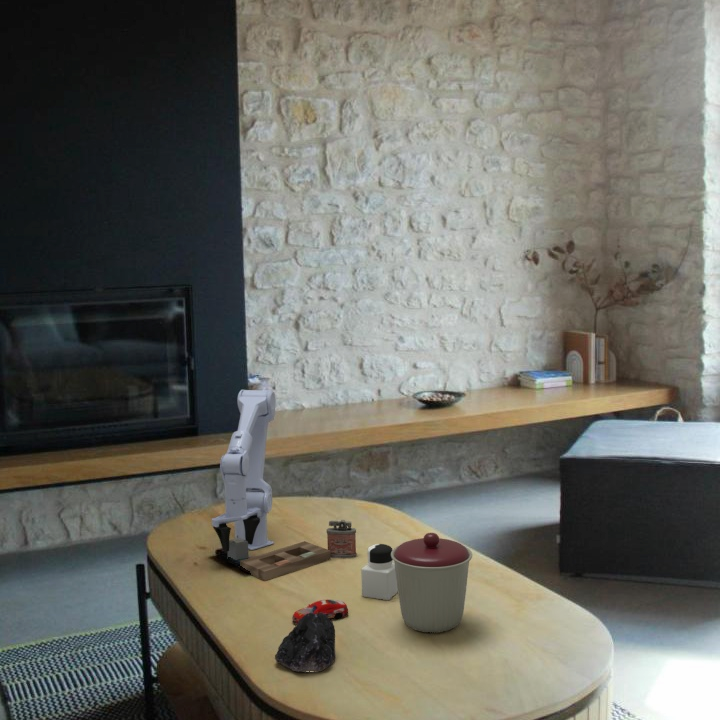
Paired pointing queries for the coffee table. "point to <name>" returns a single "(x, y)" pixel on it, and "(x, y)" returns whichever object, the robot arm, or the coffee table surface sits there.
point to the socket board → (285, 560)
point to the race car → (323, 610)
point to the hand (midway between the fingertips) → (237, 546)
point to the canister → (431, 582)
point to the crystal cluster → (309, 644)
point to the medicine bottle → (379, 573)
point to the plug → (238, 548)
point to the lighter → (341, 539)
